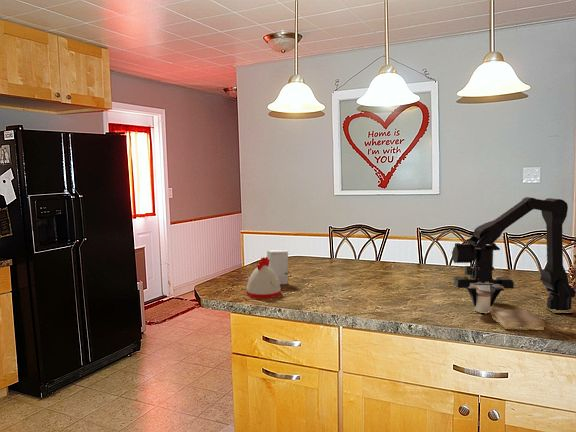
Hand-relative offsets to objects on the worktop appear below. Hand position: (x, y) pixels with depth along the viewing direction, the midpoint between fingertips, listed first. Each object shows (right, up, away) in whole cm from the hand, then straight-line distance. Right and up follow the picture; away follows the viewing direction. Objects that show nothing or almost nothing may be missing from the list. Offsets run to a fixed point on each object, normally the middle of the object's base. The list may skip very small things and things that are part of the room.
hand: (482, 306), depth 163 cm
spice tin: (0, -2, 0) cm, 2 cm away
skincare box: (-73, +1, +44) cm, 85 cm away
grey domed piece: (-78, 0, +27) cm, 83 cm away
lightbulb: (+6, -1, +14) cm, 15 cm away
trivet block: (+6, -3, -12) cm, 14 cm away
